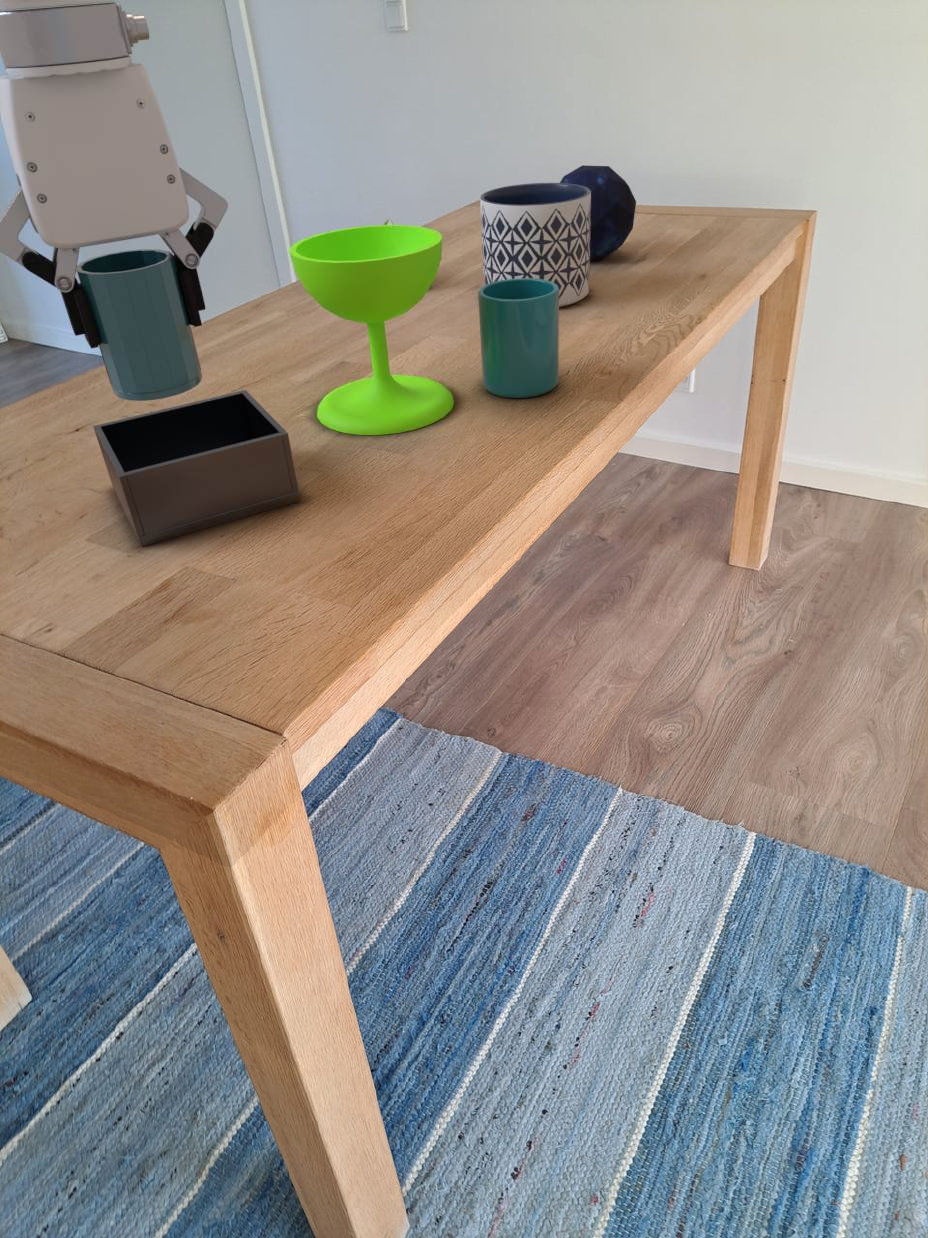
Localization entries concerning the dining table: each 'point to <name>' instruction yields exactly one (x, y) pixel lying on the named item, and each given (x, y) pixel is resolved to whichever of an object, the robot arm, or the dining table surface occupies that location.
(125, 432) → the grey open box
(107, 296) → the tumbler
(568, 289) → the planter
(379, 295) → the wineglass
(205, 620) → the dining table surface
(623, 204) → the decorative orb
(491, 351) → the cup
